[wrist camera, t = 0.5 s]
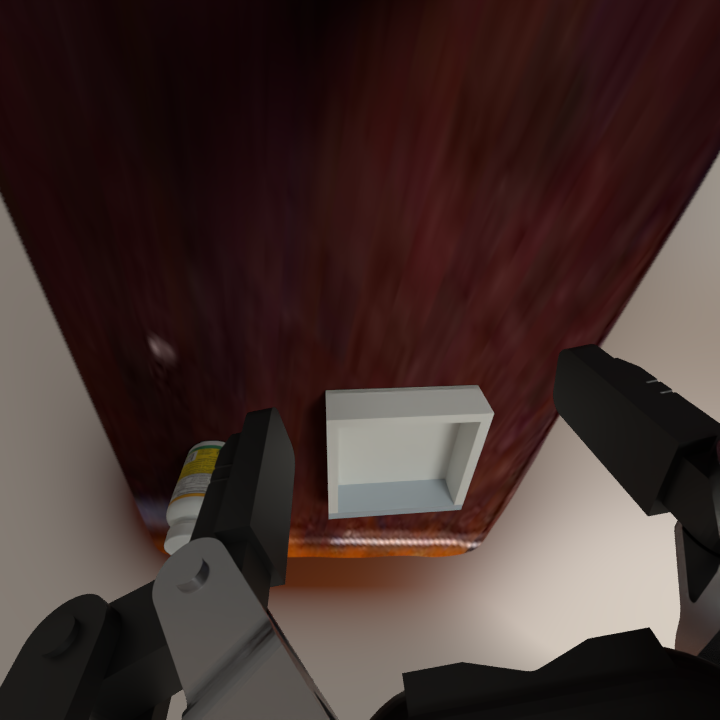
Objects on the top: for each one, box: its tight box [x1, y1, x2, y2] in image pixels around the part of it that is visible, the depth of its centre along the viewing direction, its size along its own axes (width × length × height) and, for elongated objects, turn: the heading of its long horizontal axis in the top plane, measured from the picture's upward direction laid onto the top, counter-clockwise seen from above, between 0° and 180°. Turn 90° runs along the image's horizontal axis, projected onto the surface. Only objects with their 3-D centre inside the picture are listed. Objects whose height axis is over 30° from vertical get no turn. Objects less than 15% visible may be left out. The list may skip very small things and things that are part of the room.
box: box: [326, 385, 494, 519], centre depth 37 cm, size 15×15×4 cm
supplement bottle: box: [164, 441, 225, 555], centre depth 33 cm, size 5×5×10 cm
